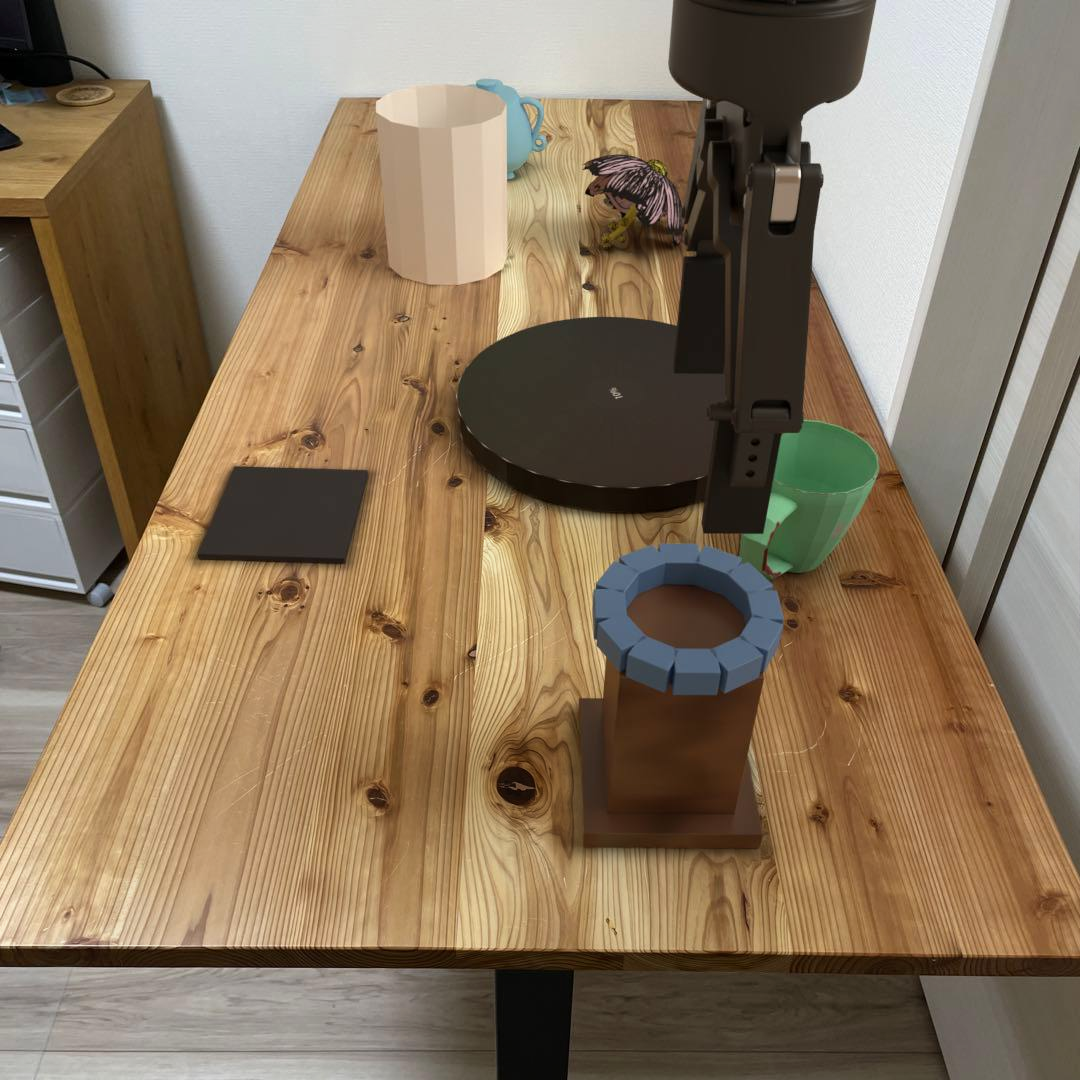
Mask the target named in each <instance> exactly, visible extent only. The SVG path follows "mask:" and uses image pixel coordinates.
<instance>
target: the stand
mask: <svg viewBox="0 0 1080 1080" xmlns="http://www.w3.org/2000/svg"><path fill="white" fill-rule="evenodd" d="M626 611H627V616H628V617H629V618H630V619H631V620H632V621H633V622H634V623H635V625H636V626H637V627H638V628H639V629H640V630H641V631H642V632H643V633H644V634H645V636H647V637H649V638H652V639H654V640H657V641H659V642H662V643H664V644H667V645H669V646H671V647H674V648H676V649H712V648H715V647H717V646H719V645H721V644H724V643H726V642H728V641H730V640H733V639H735V638H737V637H739V636H740V635H741V633H742V631H743V630H744V628H745V623H744V618H743V614H742V613H741V612H740V611H739V610H738V609H737V608H735V607H734V606H733V605H732V604H731V603H730V602H729V601H728V600H727V599H726V598H725V597H724V596H722V595H720V594H717V593H714V592H712V591H709V590H706V589H704V588H701V587H698V586H696V585H661V586H658V587H656V588H653V589H651V590H648V591H646V592H643V593H641V594H638V595H636V597H635V598H634V599H633V601H632V602H631V603H630V605H629V606H628V607H627V609H626ZM604 665H605V667H604V678H603V679H604V680H603V691H602V692H603V693H602V697H579V698H578V714H577V717H578V736H579V737H578V739H579V741H578V742H579V762H580V763H579V767H580V768H579V769H580V794H581V795H580V796H581V797H580V798H581V819H582V820H581V821H582V823H581V824H582V847H583V848H626V849H627V848H633V849H634V848H635V849H636V848H637V849H638V848H639V849H640V848H641V849H643V848H645V849H651V848H652V849H653V848H655V849H657V848H658V849H760V847H761V842H762V839H763V835H764V834H763V827H762V823H761V819H760V813H759V808H758V807H759V806H758V802H757V796H756V790H755V786H754V781H753V775H752V769H751V764H750V758H749V750H750V746H751V741H752V738H753V732H754V728H755V723H756V718H757V713H758V710H759V705H760V700H761V695H762V690H763V687H764V682H765V675H764V674H765V673H761V672H760V674H759V678H757V679H755V680H753V681H751V682H748V683H746V684H744V685H742V686H740V687H738V688H736V689H733V690H731V691H729V692H727V693H725V694H724V693H723V692H722V691H721V690H720V689H719V688H718V690H717V695H673V693H672V686H671V684H670V686H669V687H668V689H667V690H666V692H665V693H663V692H661V691H659V690H656V689H654V688H652V687H649V686H647V685H644V684H642V683H640V682H637V681H635V680H633V679H630V678H628V677H626V670H624V671H621V672H619V671H618V670H617V669H616V668H615V667H614V666H613V664H612V663H611V662H610V661H609V660H608V659H607V657H606V656H605V664H604Z"/></svg>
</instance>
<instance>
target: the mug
mask: <svg viewBox="0 0 1080 1080" xmlns="http://www.w3.org/2000/svg"><path fill="white" fill-rule="evenodd" d="M880 468H881V467H880V460H879V455H878V454H877V453H876V450H874V449H873V446H872V445H871V444H870V443H869V442H868V441H866V440H865V439H864V438H862V437H861V436H860V435H858V434H857V433H855V432H853V431H852V430H849V429H847V428H845V427H843V426H841V425H837V424H833V423H829V422H826V421H823V420H814V419H813V420H811V419H804V421H803V424H802V429H801V430H800V432H799V433H782V436H781V441H780V446H779V452H778V457H777V463H776V468H775V474H774V479H773V484H772V490H771V495H770V501H769V506H768V511H767V517H766V522H765V528H764V533H763V534H738V535H739V536H738V546H737V554H736V556H737V557H740V558H742V561H741V565H742V564H744V563H747V562H748V563H750V564H751V565H752V566H753V567H754V568H755V569H756V570H757V571H758V572H759V573H761V574H762V575H763V576H764V577H765V578H766V579H767V580H768V581H772V580H775V579H777V578H778V577H780V576H781V575H783V574H784V573H787V572H788V573H793V574H794V573H795V574H802V573H809V572H812V571H814V570H816V569H817V568H818V567H819V566H820V565H821V564H822V563H824V561H825V560H826V559H827V557H828V556H829V555H831V553H832V552H833V551H834V550H835V549H836V547H837V546H838V545H839V543H840V542H841V540H842V539H843V538H844V536H845V535H847V532H848V531H849V529H850V528H851V526H852V525H853V523H854V522H855V520H856V519H857V517H858V515H859V514H860V512H861V510H862V508H863V506H864V504H865V503H866V500H867V499H868V496H869V494H870V493H871V491H872V489H873V486H874V484H875V482H876V479H877V477H878V475H879V472H880Z"/></svg>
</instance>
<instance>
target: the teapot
mask: <svg viewBox="0 0 1080 1080" xmlns="http://www.w3.org/2000/svg"><path fill="white" fill-rule="evenodd" d="M466 86H470V87H476V88H480V89H483V90H486V91H489V92H492V93H495V94H497V95H498V96H499V97H500V98H501V99H502V100H503V101H504V102H505V103H506V104H507V180H511V179H514V178H515V174H514V171H516V170H518V169H520V168H521V167H523V165H524V164H525V163H526V162H527V160H528V159H529V157H530V155H531V154H532V152H535V153H538V152H539V153H541V152H543V151H544V150H545V149H547V144H548V141H547V139H546V137H545V136H544V135H543V134H540V131H541V128H542V125H543V121H544V117H545V108H544V106H543V104H542V103H541V102H540V101H539V100H538V99H537V98H534V97H532V96H522V97H520V95H519V93H518V91H517V90H516V88H514V87H512V86H510V85H505V84H504V83H503V81H502V80H501V79H500V80H499V79H494V78H479V79H478V80H476V81H475V83H473V84H468V85H466ZM525 105H530V106H533V107H534V108H536V111H537V117H536V121H535V125H534V128H532V123H531V121H530V117H529V115H528V112H527V109H526V107H525ZM537 141H540V143H541V144H537Z"/></svg>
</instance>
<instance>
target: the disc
mask: <svg viewBox="0 0 1080 1080" xmlns="http://www.w3.org/2000/svg"><path fill="white" fill-rule="evenodd" d="M676 330H677V324H671V323H667V322H662V321H658V320H653V319H645V318H637V317H627V316H588V317H587V316H586V317H571V318H567V319H560V320H554V321H548V322H543V323H541V324H538V325H533V326H531V327H527V328H523V329H520V330H518V331H516V332H513V333H510V334H508V335H507V336H504V337H502V338H500V339H498V340H497V341H495V342H494V343H492V344H490V345H489V346H487V347H486V348H484V349H482V350H481V351H480V352H479V353H478V354H477V355H476V356H475V357H474V358H473V359H472V360H471V361H470V362H469V363H468V364H467V366H466V368H465V369H464V371H463V373H462V375H461V376H460V378H459V381H458V385H457V390H456V395H455V397H456V403H457V410H458V425H459V431H460V437H461V439H462V441H463V443H464V445H465V447H466V449H467V451H468V452H469V454H470V455H471V456H472V457H473V459H475V461H476V462H477V464H479V465H480V466H481V467H482V468H483V469H484V470H485V471H487V472H488V473H489V474H491V476H494V477H495V478H497V479H498V480H499V481H501V482H502V483H504V484H505V485H506V486H509V487H511V488H513V489H515V490H518V491H519V492H522V493H524V494H526V495H529V496H530V497H533V498H536V499H540V500H543V501H546V502H550V503H553V504H557V505H559V506H564V507H569V508H576V509H581V510H587V511H594V512H612V513H613V512H614V513H640V512H653V511H665V510H668V509H669V510H670V509H673V508H678V507H683V506H687V505H692V504H696V503H698V502H701V501H704V500H705V493H706V485H707V478H708V470H709V463H710V455H711V448H712V440H713V433H714V426H715V421H708V419H707V407H708V406H709V405H711V404H717V403H718V402H723V400H725V367H724V374H677V373H674V370H673V360H674V350H675V340H676Z"/></svg>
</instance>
